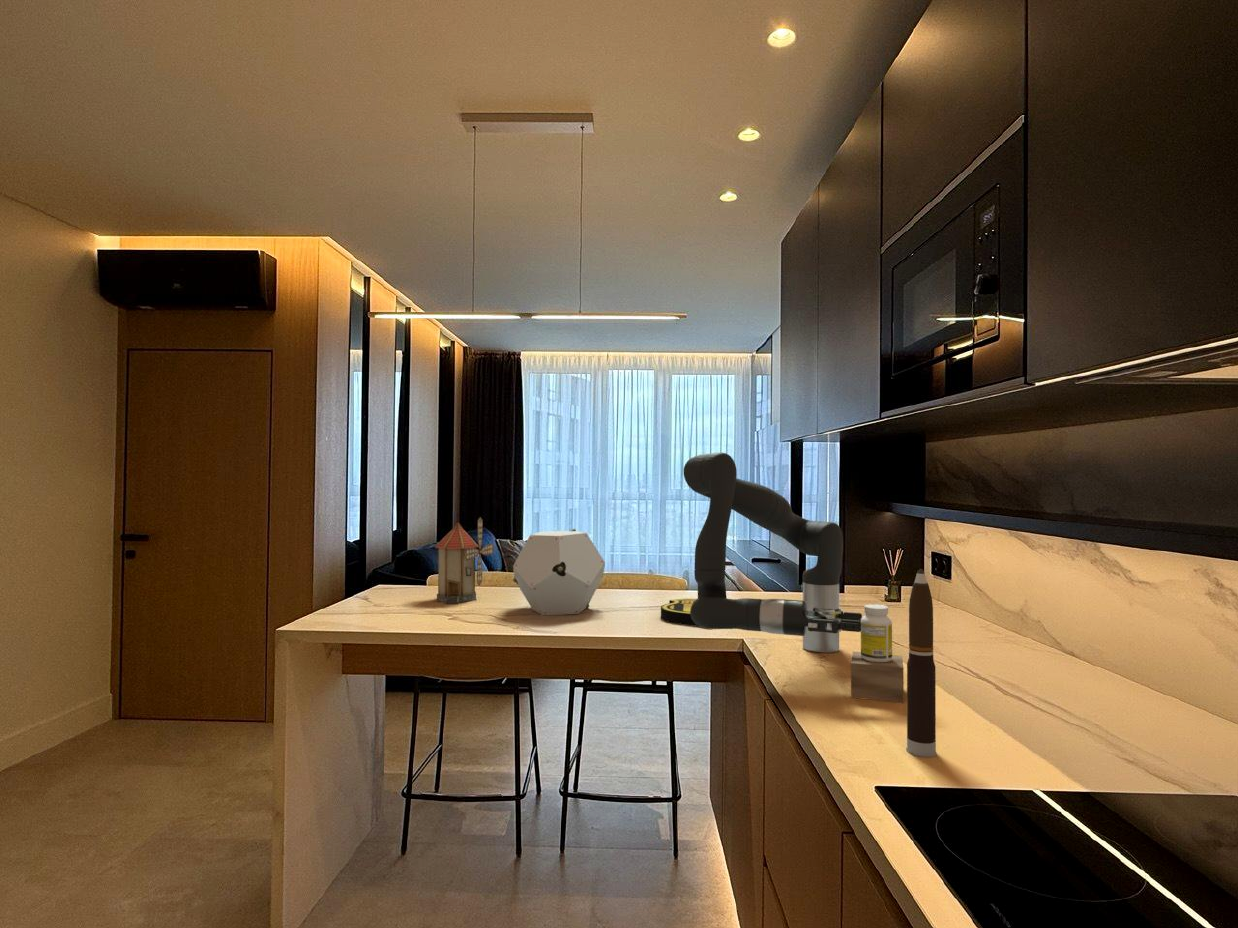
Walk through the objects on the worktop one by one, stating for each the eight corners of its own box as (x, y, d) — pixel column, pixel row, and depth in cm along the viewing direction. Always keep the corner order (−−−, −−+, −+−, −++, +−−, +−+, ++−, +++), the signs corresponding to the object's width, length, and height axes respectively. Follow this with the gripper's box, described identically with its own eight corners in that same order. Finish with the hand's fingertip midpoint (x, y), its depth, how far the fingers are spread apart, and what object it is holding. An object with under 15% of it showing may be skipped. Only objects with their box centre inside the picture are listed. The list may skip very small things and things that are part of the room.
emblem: (658, 615, 213) (663, 598, 243) (658, 627, 213) (662, 609, 243) (758, 617, 210) (750, 599, 240) (758, 630, 210) (750, 611, 240)
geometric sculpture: (604, 627, 244) (634, 556, 233) (532, 644, 224) (560, 567, 212) (557, 574, 263) (583, 506, 251) (487, 585, 243) (511, 512, 231)
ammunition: (929, 746, 119) (929, 567, 120) (941, 757, 115) (940, 570, 115) (902, 746, 119) (901, 566, 120) (912, 756, 115) (912, 570, 115)
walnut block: (852, 683, 155) (852, 651, 155) (902, 688, 151) (902, 655, 152) (850, 697, 146) (850, 662, 146) (903, 702, 142) (903, 667, 142)
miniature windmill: (482, 606, 244) (483, 518, 245) (425, 606, 244) (426, 518, 245) (493, 594, 269) (494, 514, 269) (441, 594, 268) (442, 514, 269)
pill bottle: (877, 654, 153) (877, 602, 153) (898, 661, 147) (898, 607, 147) (854, 657, 150) (854, 604, 150) (875, 664, 144) (875, 609, 145)
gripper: (778, 605, 149) (861, 610, 143) (786, 594, 162) (862, 598, 157) (778, 641, 149) (861, 647, 143) (786, 627, 162) (862, 633, 156)
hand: (861, 622), depth 150 cm, fingers open, 8 cm apart
